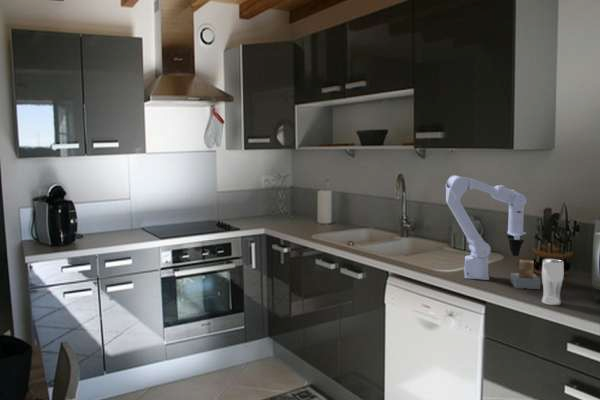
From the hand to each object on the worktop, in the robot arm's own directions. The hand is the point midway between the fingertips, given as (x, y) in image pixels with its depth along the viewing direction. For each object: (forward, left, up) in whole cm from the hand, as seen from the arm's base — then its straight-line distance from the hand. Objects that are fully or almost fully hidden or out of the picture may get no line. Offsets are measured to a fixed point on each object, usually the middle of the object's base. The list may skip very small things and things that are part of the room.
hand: (514, 253), depth 213 cm
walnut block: (+3, -12, -6) cm, 14 cm away
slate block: (+3, -12, -10) cm, 16 cm away
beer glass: (+9, -33, -10) cm, 36 cm away
